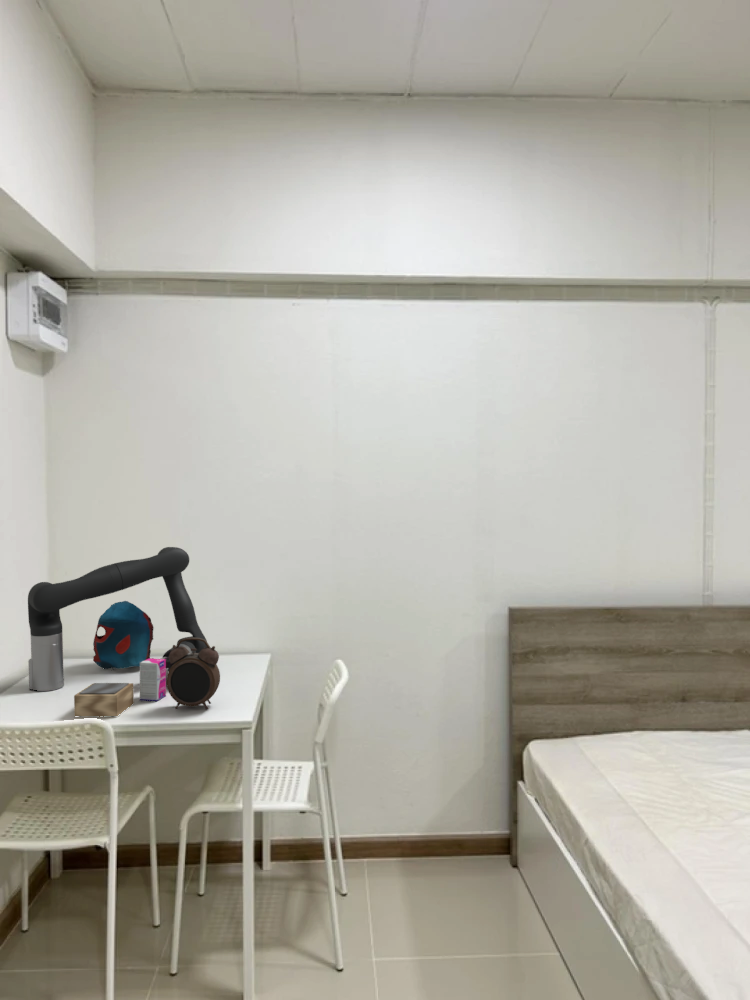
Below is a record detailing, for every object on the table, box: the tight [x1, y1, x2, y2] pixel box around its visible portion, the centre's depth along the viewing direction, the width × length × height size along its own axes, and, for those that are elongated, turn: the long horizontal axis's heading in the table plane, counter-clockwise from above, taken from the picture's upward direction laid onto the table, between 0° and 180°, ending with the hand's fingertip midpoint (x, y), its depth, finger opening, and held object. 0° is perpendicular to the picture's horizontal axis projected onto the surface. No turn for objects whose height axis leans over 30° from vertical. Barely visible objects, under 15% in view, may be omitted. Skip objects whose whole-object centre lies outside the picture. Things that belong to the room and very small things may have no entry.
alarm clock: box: [166, 637, 221, 710], centre depth 209 cm, size 14×7×20 cm, turn 87°
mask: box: [92, 600, 155, 670], centre depth 255 cm, size 18×20×25 cm
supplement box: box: [139, 658, 167, 703], centre depth 218 cm, size 6×6×12 cm
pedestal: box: [73, 682, 135, 718], centre depth 208 cm, size 12×12×6 cm
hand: (161, 670), depth 226 cm, fingers open, 8 cm apart
